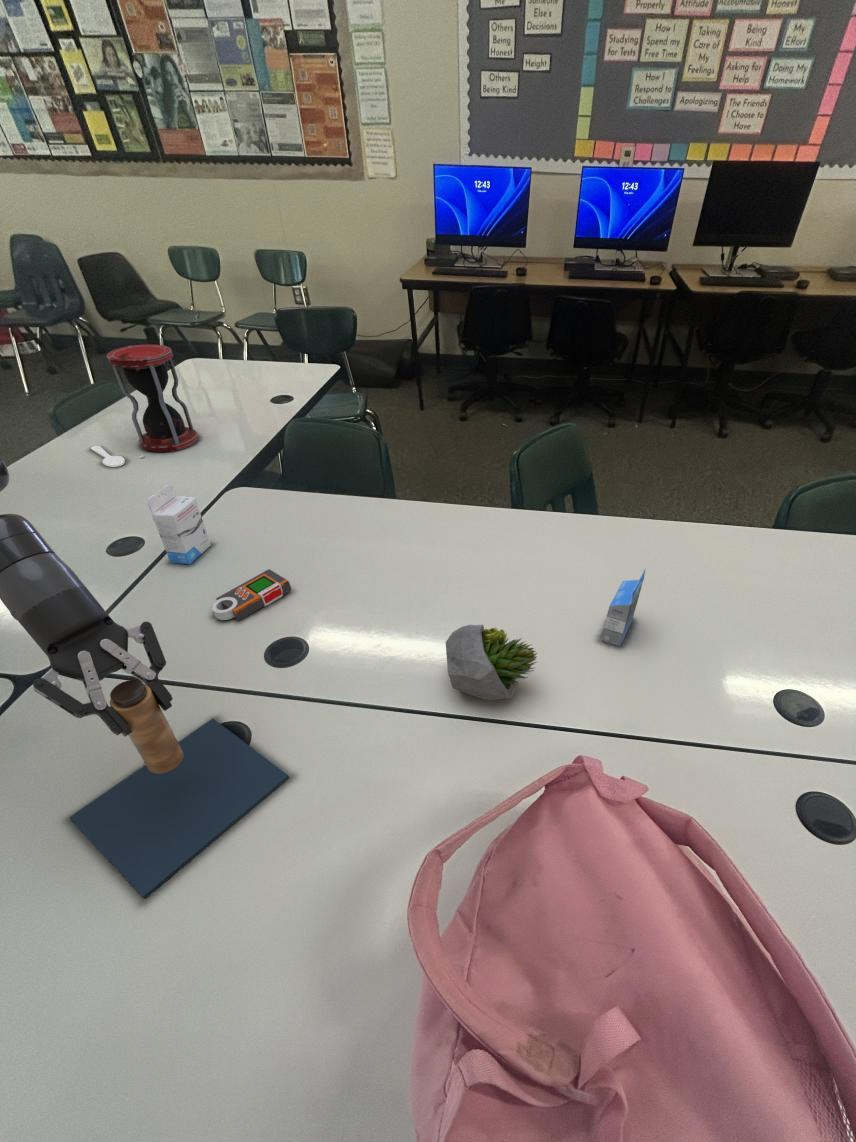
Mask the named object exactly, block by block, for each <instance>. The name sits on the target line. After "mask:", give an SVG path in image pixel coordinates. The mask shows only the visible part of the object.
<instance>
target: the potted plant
mask: <svg viewBox="0 0 856 1142" xmlns="http://www.w3.org/2000/svg"><path fill="white" fill-rule="evenodd" d="M484 626H485V625H484V624H467V625H462V626H460V627H458V628H457V629H455V630H453V631H452V632H451V634H450V635H449V636H448V638H447V640H446V641H445V653H446V654H445V655H446V665H447V674H448V678H449V681H450V684H451V686H452V689H454V690H457V691H459V692H463V693H465V694H468V695H470V696H473V697H476V698H479V699H481V700H482V699H483V700H486V701H495V700H503V699H504V700H505V699H510V698H511V697H513V695H514V689H515V686H518V684H519V682H518V681H517V679H520V680H521V679H522V680H523V679H524V680H525V679H528V678H529V677H527V676H525V675H527V674H529V673H532V672H534V671H535V669H534V667H532V666H534V665H535V664H537V661H536V660H537V658H538V656H536V655H538V654H539V653H538V652H537V650H534V649H535V647H530V646H532V645H533V644H529V643H528V642H527V641H526V640H525V641H522V642H520V641H521V640H522V639H523V637H520V638H516V639H515V638H514V639H512V640H511V641H510V640H509V639H510V637H508V634H507V632H505V630H504V629H500V630H498V628H497V627H496V626H494V627H491V628H485V627H484ZM507 637H508V638H507Z"/></svg>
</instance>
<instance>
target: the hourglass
mask: <svg viewBox="0 0 856 1142" xmlns="http://www.w3.org/2000/svg"><path fill="white" fill-rule="evenodd" d="M172 350H173V349H172V348H171V347H169V346H166V345H162V344H138V345H137V344H136V345H128V346H123V347H119V348H116V349H113V350H111V351H108V352H107V354H106V359H107V361H108V363H109V365H111V366H112V369H113V372H114V374H115V377H116V379H117V382H118V386H119V387H120V390H121V392H122V393H123V395H124V396H125V397H127V398H128V399H129V400H130V402H131V403H132V407H133V410H132V413H131V420H132V422H133V425H134V428H135V430H136V434H137V435H138V444H139V446H140V448H141V449H143V450H144V451H146V452H151V453H171V452H175V451H180V450H184V449H186V448H189V447H191V446H193V445H195V444H196V443H197V442H198V441H199V435H198V432H197V431H196V429H194V426H193V423H192V419H191V416H190V414H189V410H188V407H187V405H186V403H185V402H184V401H183V400H181V399H180V397H179V395H178V386H179V378H178V374H177V372H176V371H177V370H176V368H175V365H174V361H173V357H174V353H173V351H172ZM166 362H168V365H169V368H170V369H169V370H170V371H171V374H172V378H173V385H172V387H171V396H172V398H173V400H174V401H175V402H176V403H178V404H180V407H182V410H183V413H184V417H185V420H186V422H187V423H186V424H187V426H185V422H184V419H183V417H182V415H181V414H180V413H179V412H178V411H177V410H176V408H174V407H173V406H172V405H170V404H168V403H167V402H165V398H164V391H165V390H166V388H167V386H168V382H169V372H168V368H167V365H166V364H165V363H166ZM119 367H121V368H122V369H123V373H124V376H125V378H126V380H127V382H128V383H129V384H130V385H131V387H132V388H133V389H135V390H136V391H137V392H139V393H140V394H142V395H143V396H145V397H146V399H147V406H146V409H145V410H144V412H143V415H142V424H143V428H144V430H145V433H144V434H143V432H142V429H141V426H140V424H139V421H138V418H137V416H138V415H137V414H138V411H139V410H140V409H139V402H138V400H137V399H136V397H135V396H134V395H132V394H130V393H129V392H128V390H127V388H126V386H125V384H124V383H125V382H124V381H123V377H122V375H121V372H120V370H119Z"/></svg>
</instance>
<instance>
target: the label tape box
mask: <svg viewBox="0 0 856 1142" xmlns="http://www.w3.org/2000/svg"><path fill="white" fill-rule="evenodd" d="M646 569H647V568H646V567H645V568H644V569H643V571H642V574H641V576H640V578H639V579H632V580H631V579H630V580H622V582H621V583H620V585H619V587H618V589H617V591H616V593H615V595H614V597H613V599H612V601H611V602H610V604H609V607H608V610H607V614H606V618H605V623H604V626H603V631H602V635H601V639H600V640H601V641H602V642H604V643H607V644H609V645H612V646H616V647H621V645H622V644H623V641H624V640H625V637H626V635H627V633H628V631H629V629H630V626H631V624H632V621H633V619H634V616H635V612H636V609H637V605H638V601H639V598H640V595H641V590H642V586H643V582H644V581H645V575H646Z"/></svg>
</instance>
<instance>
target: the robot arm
mask: <svg viewBox="0 0 856 1142" xmlns="http://www.w3.org/2000/svg"><path fill="white" fill-rule="evenodd" d="M9 483H10V473H9V469H8V467H7V464H6V462H5V461H4V460H3V458H2V457H1V456H0V493H1V492H2V491H4V490H5V489H6V488H7V486H8V485H9ZM0 601H1V602H2V604H3V605H4V607H5V608H6V609H7V610H8V611H9V613H10V615H11V617H12V618H13V619H14V620H16V621H17V622H18V623H19V624H20V625H21V626H22V628H23V629H24V630H25V631H26V633H27V634H28V635H29V636H30V638H31V639H33V641H34V642H35V643H36V644H37V646H38V647H39V648H40V649H41V651H42V652H43V653H44V654H45V655H46V656H47V658H48V660H49V666H50V669H48V670H47V671H46V673H45V674H44V675H42V676H41V677H37V678H36V679H34V680H33V682H32V686H33V691H34V692H35V693H37V694H39V695H40V696H41V697H43V698H45V699H47V700H48V701H50V702H51V703H52V704H54V705H55V706H57V707H58V708H60V709H62V710H64V711H65V712H67V713H68V714H70V715H71V716H73V717H74V718H77V719H82V718H84V717H88V716H91V715H93V716H94V715H95V716H97V717H99V718H100V719H101V721H102V722H103V724H105V725H106V727H107V728H108V729H109V730H110V732H112V734H114V735H115V736H119V735H121V734H122V736H123V737H124V738H126V737H128V735H129V734H130V733H131V732H132V730H131V729H130V727H129V726H128V725H127V724H126V723H125V721H124V720H123V719H122V718H121V717H120V715H119V714H118V713H117V712H116V711H115V709H114V708H113V707H112V706H110V705H109V704H108V702H107V700H106V697H105V694H104V691H103V689H102V688H103V687H102V684H101V681H102V680H104V679H105V678H106V677H107V676H108V675H110V674H113V673H117V672H118V671H120V670H122V671H123V672H124V673H126V674H128V675H131V676H133V677H134V678H135V679H136V680H139V681H141V682H143V684H145V685H147V686H149V687H150V689H151V691H152V692H153V694H154V696H155V698H156V700H157V702H158V704H159V706H160V708H161V710H162V711H163V712H165V711H168V710H169V709H170V708H172V707H173V705H172V701H173V699H174V698H173V695H172V694H171V693H170V692H169V690H168V689H167V687H166V686H165V685H164V684H163V683H162V682H161V680H160V679H159V677H158V676H159V674H160V672H162V670H163V669H164V668H165V666H166V665H167V661H166V658H165V655H164V652H163V650H162V647H161V645H160V643H159V640H158V637H157V634H156V632H155V630H154V627H153V624H152V623H151V622H149V621H143V622H141V624H140V625H135V626H131V627H124V626H123V625H121V624H118V623H116V622H115V621H114V620H113V619H112V617H111V616H110V614H109V613H108V612H107V611H106V610H105V609H104V607H103V606H102V605H101V604H100V602H99V601H98V600H97V599H96V597H95V596H94V595H93V594H92V593H91V591H90V590H89V589H88V587H87V586H86V585H85V584H84V582H83V581H82V580H81V579H80V578H79V576H78V575H77V574H76V573H75V572H74V570H73V568H71V567H70V566H69V565H68V564H67V563H66V562H64V561H63V559H61V557H60V556H59V555H58V554H57V553H56V552H55V551H54V549H53V548H52V547H51V546H50V544H49V543H48V542H47V540H45V538H44V537H43V536H42V535H41V533H40V532H39V530H37V528H36V527H35V526H34V525H33V523H31V522H30V521H29V520H28V519H27V518H26V517H24V516H22V515H20V514H17V513H3V514H0ZM129 638H132V639H133V640H134V641H135V643H137V644H141V645H143V648H144V651H145V653H146V655H147V658H148V660H149V663H150V666H147V665H145V664H144V663H143V662H141V660H140V659H138V658H137V657H135V656H134V655H133V654H131V653H129ZM58 676H62V677H65V678H68V679H69V678H70V679H73V680H77V681H80V682H82V685H83V687H84V690H85V693H86V695H87V697H88V699H89V702H86V703H82V702H81V701H79V700H78V699H76V698H75V697H73V696H71V695H70V694H69V693H67V692H65V691H64V690H63V689H62V682H61V681H60V679H59V678H58Z"/></svg>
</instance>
